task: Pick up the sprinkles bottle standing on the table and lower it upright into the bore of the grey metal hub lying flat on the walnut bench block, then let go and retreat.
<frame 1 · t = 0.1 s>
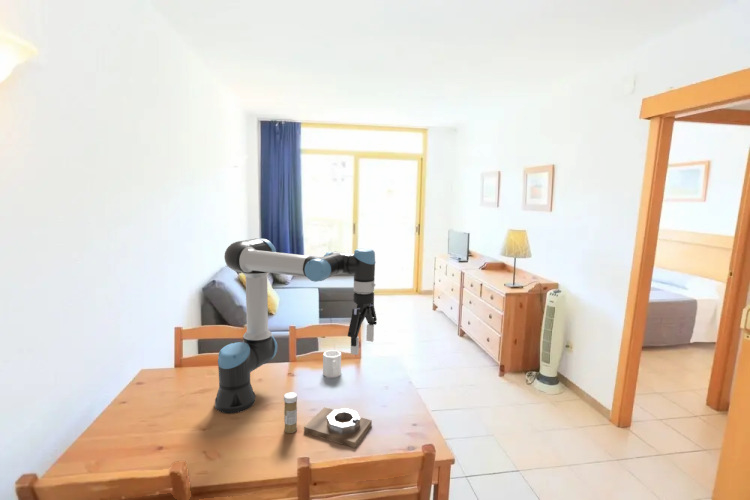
hand: (362, 347, 143), 28 cm above the table, fingers open, 13 cm apart
sprinkles bottle: (290, 430, 137), on the table
mug: (332, 375, 179), on the table
bench block: (338, 428, 139), on the table
hub: (343, 430, 138), resting on bench block
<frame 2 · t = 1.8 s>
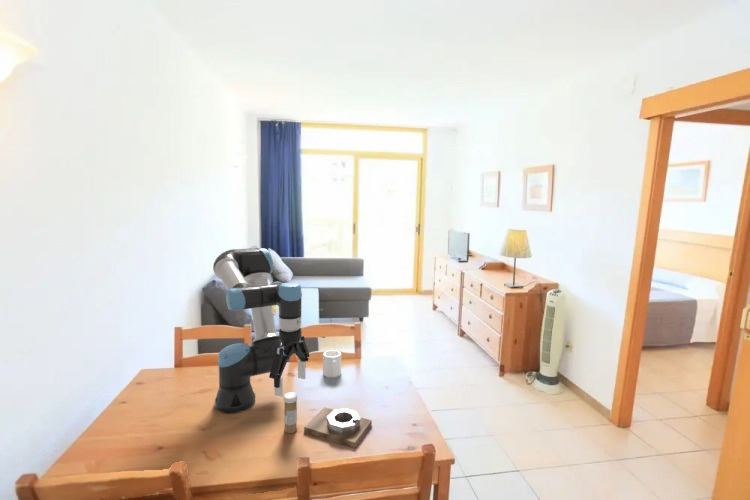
hand: (290, 386, 135), 17 cm above the table, fingers open, 13 cm apart
nothing on the table moved.
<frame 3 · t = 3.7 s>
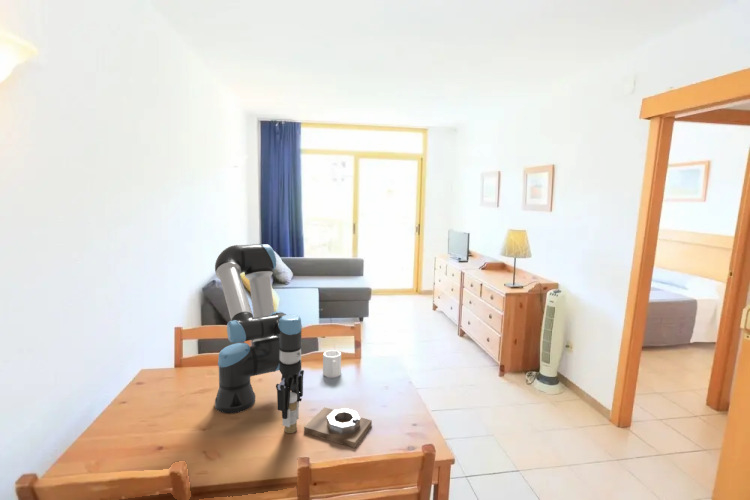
hand: (290, 421, 137), 3 cm above the table, fingers closed on sprinkles bottle, 4 cm apart
sprinkles bottle: (290, 430, 137), on the table, touching gripper
everything else where it was.
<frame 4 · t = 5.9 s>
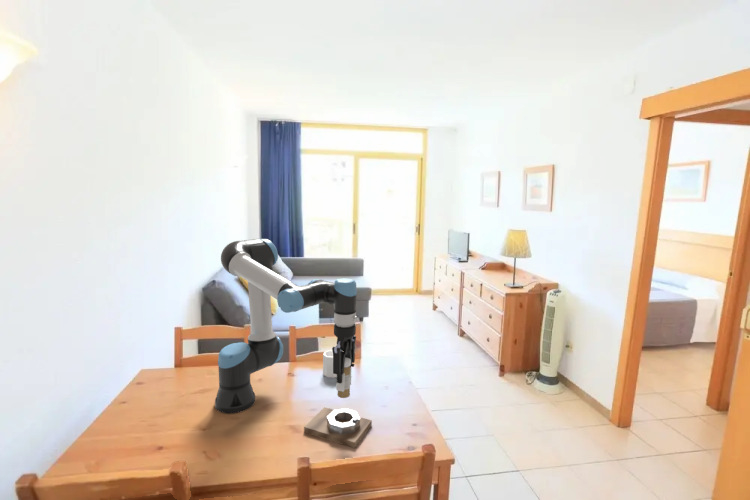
hand: (343, 387, 136), 17 cm above the table, fingers closed on sprinkles bottle, 4 cm apart
sprinkles bottle: (343, 395, 136), point 13 cm above the table, touching gripper
everything else where it was.
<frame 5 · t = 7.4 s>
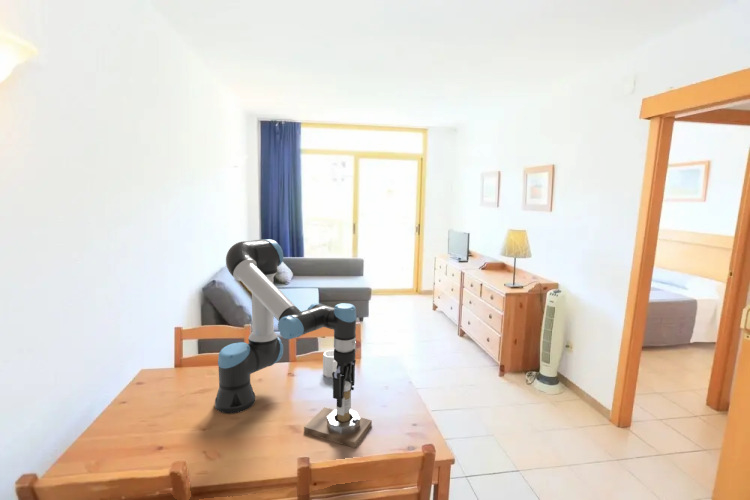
hand: (343, 410, 137), 8 cm above the table, fingers closed on sprinkles bottle, 4 cm apart
sprinkles bottle: (343, 419, 137), point 4 cm above the table, touching gripper
everything else where it was.
when the fingers open (7 cm above the table, at t = 8.6 s): sprinkles bottle drops 1 cm, resting on bench block.
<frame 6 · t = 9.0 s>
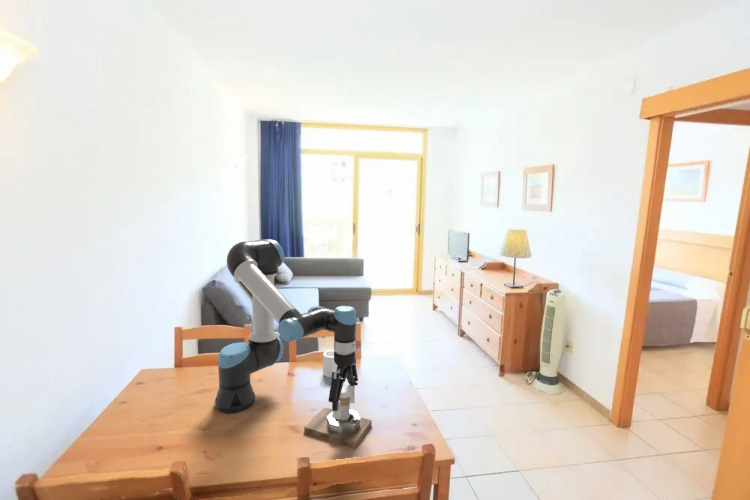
hand: (343, 409, 137), 8 cm above the table, fingers open, 10 cm apart
sprinkles bottle: (343, 425, 138), point 2 cm above the table, touching bench block
everything else where it was.
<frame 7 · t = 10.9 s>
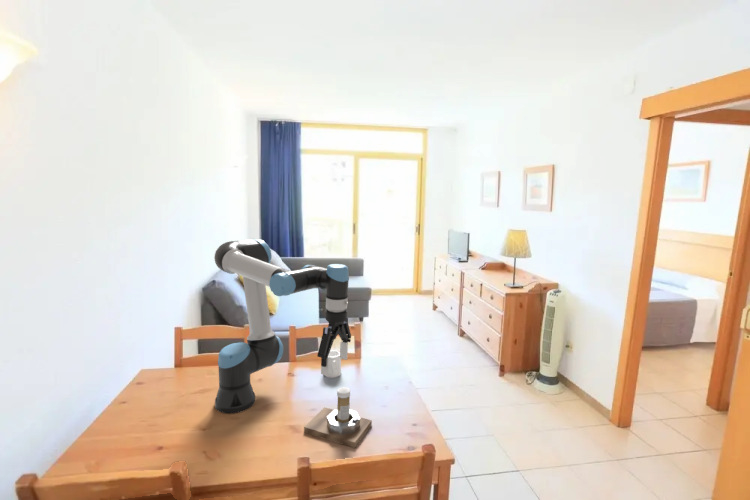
hand: (334, 366, 137), 23 cm above the table, fingers open, 13 cm apart
nothing on the table moved.
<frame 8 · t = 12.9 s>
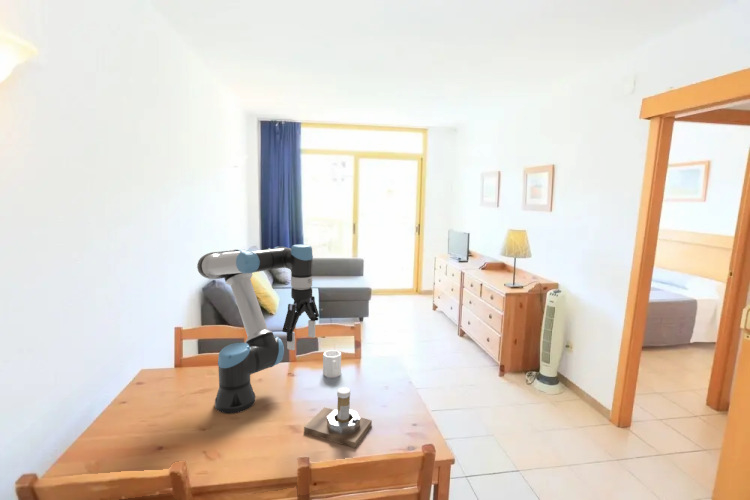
hand: (301, 342, 143), 29 cm above the table, fingers open, 13 cm apart
nothing on the table moved.
at the end: sprinkles bottle 0.1 cm off-centre on the hub, point 1.8 cm above the hub's base; sprinkles bottle tilted 0°; the gripper is holding nothing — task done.
